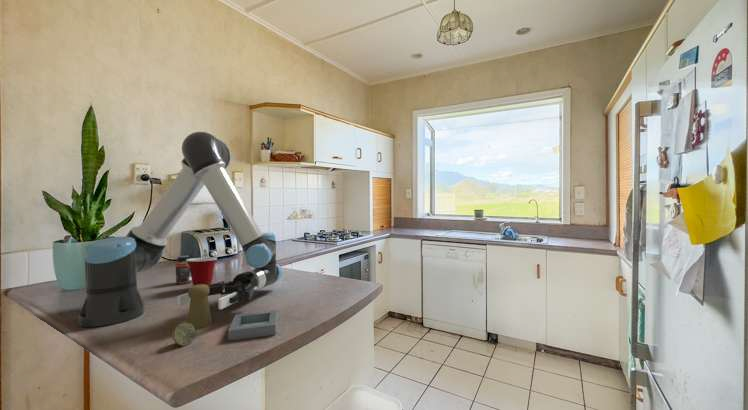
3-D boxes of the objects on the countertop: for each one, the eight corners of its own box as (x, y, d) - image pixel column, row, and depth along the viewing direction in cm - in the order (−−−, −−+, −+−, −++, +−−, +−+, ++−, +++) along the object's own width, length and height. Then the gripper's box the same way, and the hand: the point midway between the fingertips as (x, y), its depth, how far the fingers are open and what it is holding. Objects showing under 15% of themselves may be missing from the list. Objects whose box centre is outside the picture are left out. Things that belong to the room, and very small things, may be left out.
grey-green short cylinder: (197, 338, 77) (197, 318, 77) (188, 347, 72) (187, 326, 72) (178, 340, 76) (178, 319, 76) (168, 349, 71) (167, 328, 71)
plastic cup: (224, 284, 127) (223, 255, 127) (206, 292, 116) (205, 260, 116) (200, 284, 129) (199, 255, 128) (180, 291, 118) (179, 260, 118)
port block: (228, 340, 75) (228, 330, 75) (235, 323, 85) (235, 314, 85) (275, 334, 78) (275, 324, 78) (277, 318, 88) (276, 310, 88)
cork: (194, 321, 88) (192, 282, 88) (216, 319, 89) (214, 281, 88) (182, 329, 82) (181, 288, 82) (206, 328, 83) (205, 287, 82)
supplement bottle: (195, 281, 132) (194, 255, 132) (180, 285, 127) (179, 258, 127) (188, 280, 135) (187, 254, 135) (173, 283, 130) (172, 256, 130)
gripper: (281, 295, 102) (238, 319, 81) (218, 291, 108) (163, 312, 88) (281, 272, 102) (237, 291, 81) (218, 269, 108) (162, 286, 88)
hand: (198, 302), depth 84 cm, fingers open, 13 cm apart
